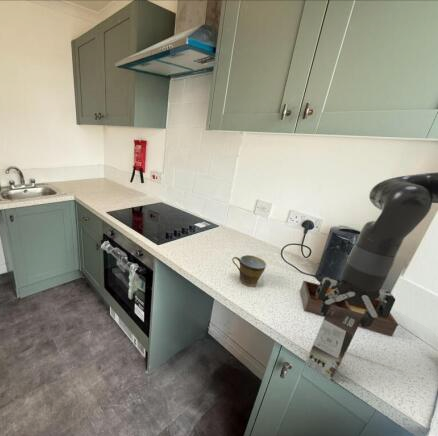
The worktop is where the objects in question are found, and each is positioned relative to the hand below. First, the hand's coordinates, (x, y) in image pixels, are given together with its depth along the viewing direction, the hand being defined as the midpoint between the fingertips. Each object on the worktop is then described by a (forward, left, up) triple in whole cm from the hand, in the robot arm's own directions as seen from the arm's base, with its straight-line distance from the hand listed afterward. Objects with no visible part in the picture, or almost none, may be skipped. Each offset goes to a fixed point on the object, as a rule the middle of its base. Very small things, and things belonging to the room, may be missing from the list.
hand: (342, 319), depth 63 cm
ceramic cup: (+23, -31, -16) cm, 42 cm away
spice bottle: (-4, -27, -15) cm, 31 cm away
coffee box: (0, 0, -16) cm, 16 cm away
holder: (-10, -27, -16) cm, 33 cm away
